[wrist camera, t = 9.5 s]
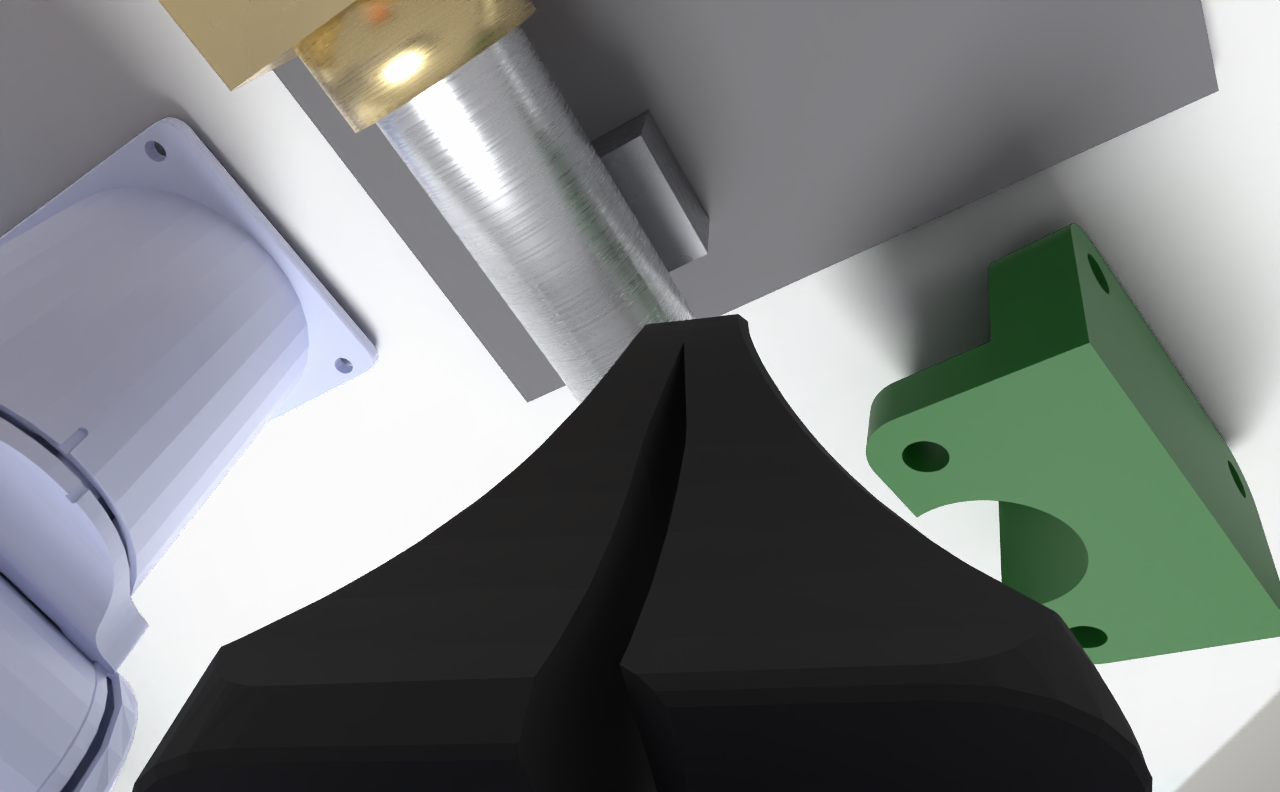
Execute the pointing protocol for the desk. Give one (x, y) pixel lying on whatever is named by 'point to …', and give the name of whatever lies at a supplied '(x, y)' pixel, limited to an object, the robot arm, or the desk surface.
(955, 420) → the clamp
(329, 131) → the pipe mat
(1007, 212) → the desk surface
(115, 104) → the desk surface
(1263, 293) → the desk surface
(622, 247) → the pipe and valve
